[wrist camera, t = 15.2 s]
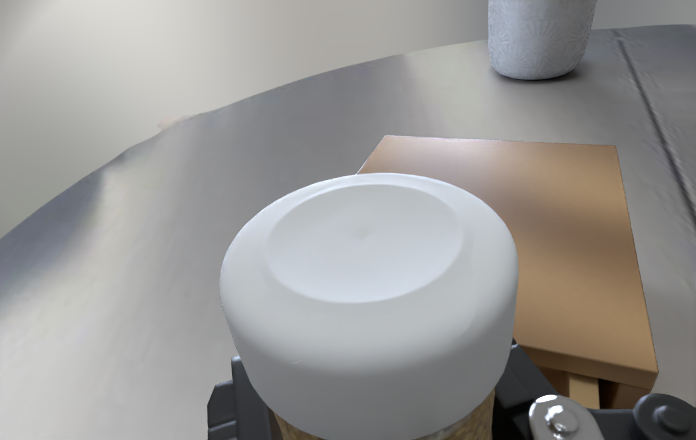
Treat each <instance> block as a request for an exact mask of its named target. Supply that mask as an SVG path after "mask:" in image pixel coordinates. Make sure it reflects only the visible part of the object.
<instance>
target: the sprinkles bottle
mask: <svg viewBox="0 0 696 440" xmlns="http://www.w3.org/2000/svg"><path fill="white" fill-rule="evenodd" d="M518 278H519V266H518V255H517V250H516V245H515V243H514V240H513V238H512V235H511V233H510V231H509V230H508V228H507V226H506V224H505V223H504V222H503V220H502V219H501V218H500V217H499V216H498V215H497V213H496V212H495V211H494V210H492V209H491V208H490V207H489V206H488V205H487V204H486V203H484V202H483V201H482V200H480V199H479V198H477V197H476V196H474V195H473V194H471V193H469V192H467V191H465V190H463V189H461V188H459V187H456V186H454V185H451V184H449V183H446V182H443V181H440V180H436V179H432V178H427V177H423V176H416V175H408V174H397V173H369V174H358V175H351V176H344V177H339V178H334V179H330V180H326V181H322V182H319V183H315V184H313V185H310V186H307V187H305V188H302V189H299V190H297V191H295V192H292V193H290V194H288V195H286V196H284V197H282V198H280V199H279V200H277V201H275V202H273V203H272V204H270V205H269V206H267V207H266V208H264V209H263V210H262V211H260V212H259V213H258V214H257V215H256V216H255V217H253V218H252V219H251V220H250V221H249V222H248V223H247V224H246V225H245V226H244V227H243V228H242V229H241V230H240V232H239V233H238V234H237V236H236V237H235V239H234V240H233V242H232V243H231V245H230V247H229V248H228V250H227V253H226V255H225V258H224V260H223V263H222V268H221V273H220V300H221V304H222V308H223V311H224V314H225V317H226V320H227V323H228V326H229V329H230V331H231V334H232V337H233V340H234V343H235V346H236V349H237V351H238V353H239V356H240V358H241V361H242V363H243V366H244V368H245V371H246V373H247V375H248V378H249V380H250V382H251V384H252V386H253V387H254V389H255V390H256V392H257V393H258V394H259V396H260V397H261V398H262V400H263V401H264V402H265V403H266V405H267V406H268V407H269V408H270V409H272V411H273V412H274V414H275V416H276V419H277V421H278V424H279V426H280V429H281V433H282V437H283V440H492V430H491V426H492V415H493V405H494V397H495V387H496V385H497V383H498V381H499V379H500V377H501V376H502V374H503V373H504V370H505V367H506V364H507V361H508V358H509V354H510V349H511V344H512V337H513V328H514V320H515V311H516V300H517V289H518Z"/></svg>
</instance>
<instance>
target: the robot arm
mask: <svg viewBox="0 0 696 440" xmlns="http://www.w3.org/2000/svg"><path fill="white" fill-rule="evenodd" d="M231 366H232V378H233V380H230V381H227V382H223V383H220V384H217V385H215V387H214V390H213V392H212V395H211V397H210V400H209V402H208V405H207V413H208V440H283V437H282V433H281V429H280V426H279V424H278V421H277V419H276V416H275V414H274V412H273V411H272V409H270V408H269V407H268V406H267V405H266V403H265V402H264V401H263V400H262V398H261V397H260V396H259V394H258V393H257V392H256V390H255V389H254V387H253V386H252V384H251V382H250V380H249V378H248V375H247V373H246V371H245V368H244V366H243V363H242V361H241V358H240V356H235V357H232V359H231ZM491 430H492V440H696V408H694V407H693V406H691V405H690V404H688V403H687V402H685V401H683V400H681V399H679V398H676V397H673V396H670V395H666V394H649V395H645V396H643V397H642V398H640V399H639V400H638V401H637V403H636V405H635V407H634V409H591V408H586V407H584V406H583V405H581V404H580V403H578V402H576V401H575V400H572V399H570V398H567V397H564V396H562V395H561V394H559V393H558V392H557V391H556V390H555V389H554V387H553V386H552V385H551V384H550V382H549V381H548V380H547V379H546V377H545V376H544V375H543V374H542V372H541V371H540V370H539V369H538V368H537V366H536V365H535V364H534V363H533V361H532V360H531V359H530V358H529V356H528V355H527V354H526V353H525V351H524V350H523V349H522V348H521V346H520V345H519V344H517V343H516V340H515V339H514V338H513V337H512V344H511V349H510V354H509V358H508V361H507V364H506V367H505V370H504V373H503V374H502V376H501V377H500V379H499V381H498V383H497V385H496V387H495V397H494V405H493V415H492V426H491Z"/></svg>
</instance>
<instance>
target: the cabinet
mask: <svg viewBox="0 0 696 440" xmlns="http://www.w3.org/2000/svg"><path fill="white" fill-rule="evenodd" d="M369 173H397V174H408V175H416V176H423V177H427V178H432V179H436V180H440V181H443V182H446V183H449V184H451V185H454V186H456V187H459V188H461V189H463V190H465V191H467V192H469V193H471V194H473V195H474V196H476V197H477V198H479V199H480V200H482V201H483V202H484V203H486V204H487V205H488V206H489V207H490V208H491V209H492V210H494V211H495V212H496V213H497V215H498V216H499V217H500V218H501V219H502V220H503V222H504V223H505V224H506V226H507V228H508V230H509V231H510V233H511V235H512V238H513V240H514V243H515V245H516V250H517V255H518V266H519V278H518V289H517V300H516V311H515V320H514V328H513V338H514V339H515V340H516V343H517V344H519V345H520V346H521V348H522V349H523V350H524V351H525V353H526V354H527V355H528V356H529V358H530V359H531V360H532V361H533V363H534V364H535V365H539V366H544V367H549V368H553V369H558V370H563V371H567V372H572V373H577V374H581V375H586V376H590V377H595V378H598V389H599V405H600V409H634V407H635V405H636V403H637V401H638V400H639V399H640V398H642V397H643V396H645V395H649V394H650V392H651V389H652V388H653V386H654V383H655V381H656V378H657V376H658V373H659V371H658V366H657V360H656V355H655V350H654V344H653V339H652V334H651V329H650V323H649V318H648V313H647V307H646V302H645V297H644V292H643V286H642V281H641V276H640V270H639V265H638V260H637V255H636V249H635V244H634V239H633V233H632V228H631V223H630V217H629V212H628V207H627V202H626V196H625V191H624V186H623V180H622V175H621V170H620V165H619V159H618V154H617V149H616V146H614V145H591V144H568V143H545V142H522V141H499V140H476V139H453V138H430V137H407V136H385V137H384V138H383V139H382V141H381V142H380V143H379V145H378V146H377V147H376V149H375V150H374V151H373V153H372V154H371V156H370V157H369V158H368V160H367V161H366V162H365V164H364V165H363V166H362V168H361V169H360V170H359V172H358V173H357V174H356V175H358V174H369Z"/></svg>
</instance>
